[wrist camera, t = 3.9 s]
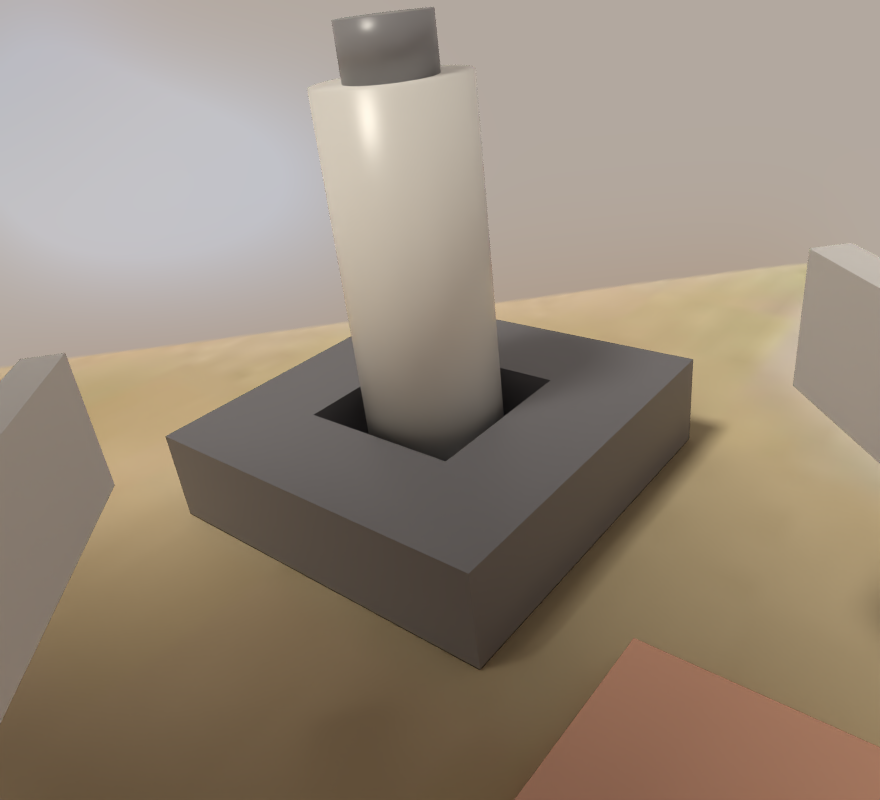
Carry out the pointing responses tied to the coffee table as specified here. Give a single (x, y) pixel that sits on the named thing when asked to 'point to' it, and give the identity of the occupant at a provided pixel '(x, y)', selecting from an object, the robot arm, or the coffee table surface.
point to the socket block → (441, 481)
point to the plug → (411, 230)
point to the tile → (697, 742)
